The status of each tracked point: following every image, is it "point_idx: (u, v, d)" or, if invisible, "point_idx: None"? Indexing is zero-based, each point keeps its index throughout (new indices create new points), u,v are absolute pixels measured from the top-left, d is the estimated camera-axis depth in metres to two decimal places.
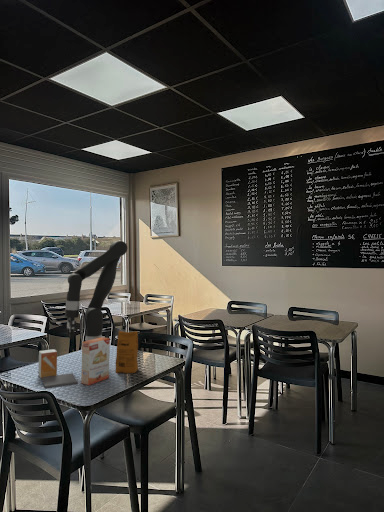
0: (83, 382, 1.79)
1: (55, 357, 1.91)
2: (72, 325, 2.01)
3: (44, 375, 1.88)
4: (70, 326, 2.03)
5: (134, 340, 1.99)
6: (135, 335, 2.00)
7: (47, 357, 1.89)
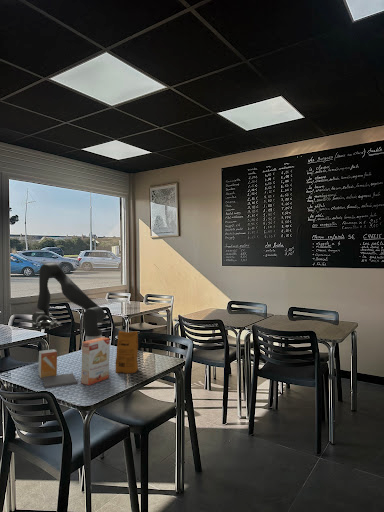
0: (83, 382, 1.79)
1: (55, 357, 1.91)
2: (32, 326, 2.05)
3: (44, 375, 1.88)
4: None
5: (134, 340, 1.99)
6: (135, 335, 2.00)
7: (47, 357, 1.89)
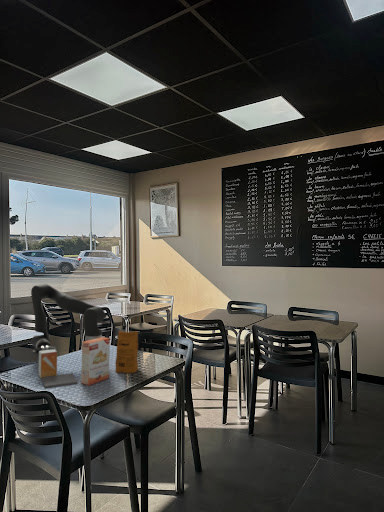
0: (83, 382, 1.79)
1: (55, 357, 1.91)
2: (35, 352, 2.05)
3: (44, 375, 1.88)
4: None
5: (134, 340, 1.99)
6: (135, 335, 2.00)
7: (47, 357, 1.89)
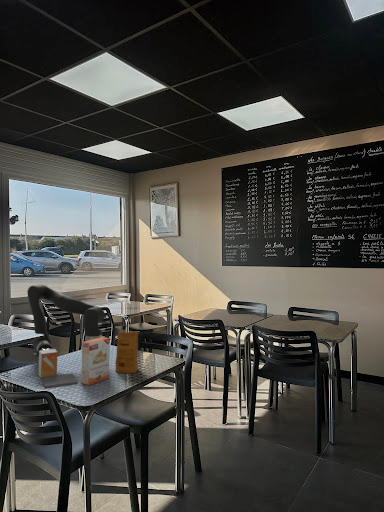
0: (83, 382, 1.79)
1: (55, 357, 1.91)
2: (36, 354, 1.98)
3: (44, 375, 1.88)
4: None
5: (134, 340, 1.99)
6: (135, 335, 2.00)
7: (47, 357, 1.88)
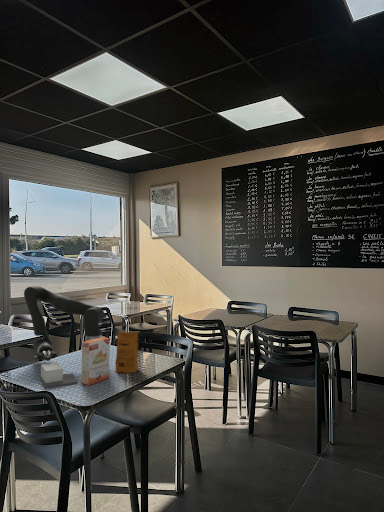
0: (83, 382, 1.79)
1: None
2: (37, 357, 1.94)
3: None
4: None
5: (134, 340, 1.99)
6: (135, 335, 2.00)
7: None
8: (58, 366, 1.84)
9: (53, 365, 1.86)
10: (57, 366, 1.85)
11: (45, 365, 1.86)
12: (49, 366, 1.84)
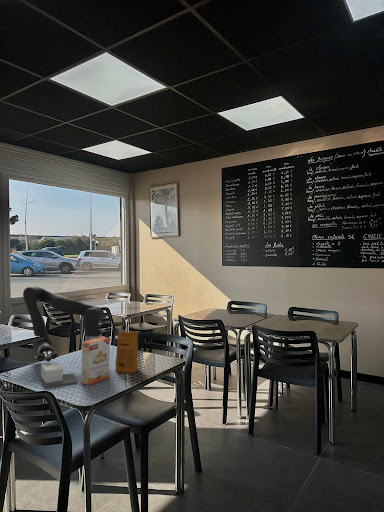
0: (83, 382, 1.79)
1: None
2: (37, 358, 1.92)
3: None
4: None
5: (134, 340, 1.99)
6: (135, 335, 2.00)
7: None
8: (58, 366, 1.84)
9: (53, 365, 1.86)
10: (57, 366, 1.85)
11: (45, 365, 1.86)
12: (49, 366, 1.84)
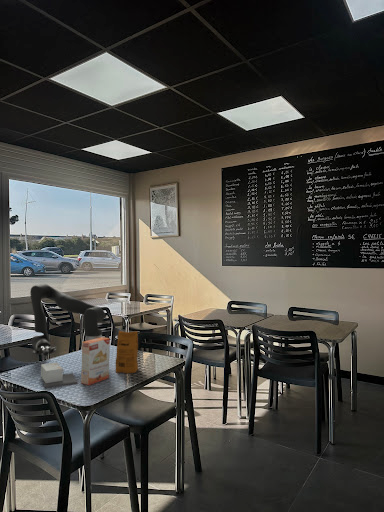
0: (83, 382, 1.79)
1: None
2: (35, 352, 2.04)
3: None
4: None
5: (134, 340, 1.99)
6: (135, 335, 2.00)
7: None
8: (58, 366, 1.84)
9: (53, 365, 1.86)
10: (57, 366, 1.85)
11: (45, 365, 1.86)
12: (49, 366, 1.84)
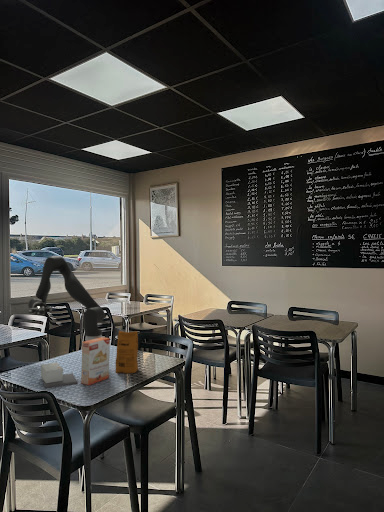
0: (83, 382, 1.79)
1: None
2: (32, 311, 2.07)
3: None
4: (37, 312, 2.08)
5: (134, 340, 1.99)
6: (135, 335, 2.00)
7: None
8: (58, 366, 1.84)
9: (53, 365, 1.86)
10: (57, 366, 1.85)
11: (45, 365, 1.86)
12: (49, 366, 1.84)
